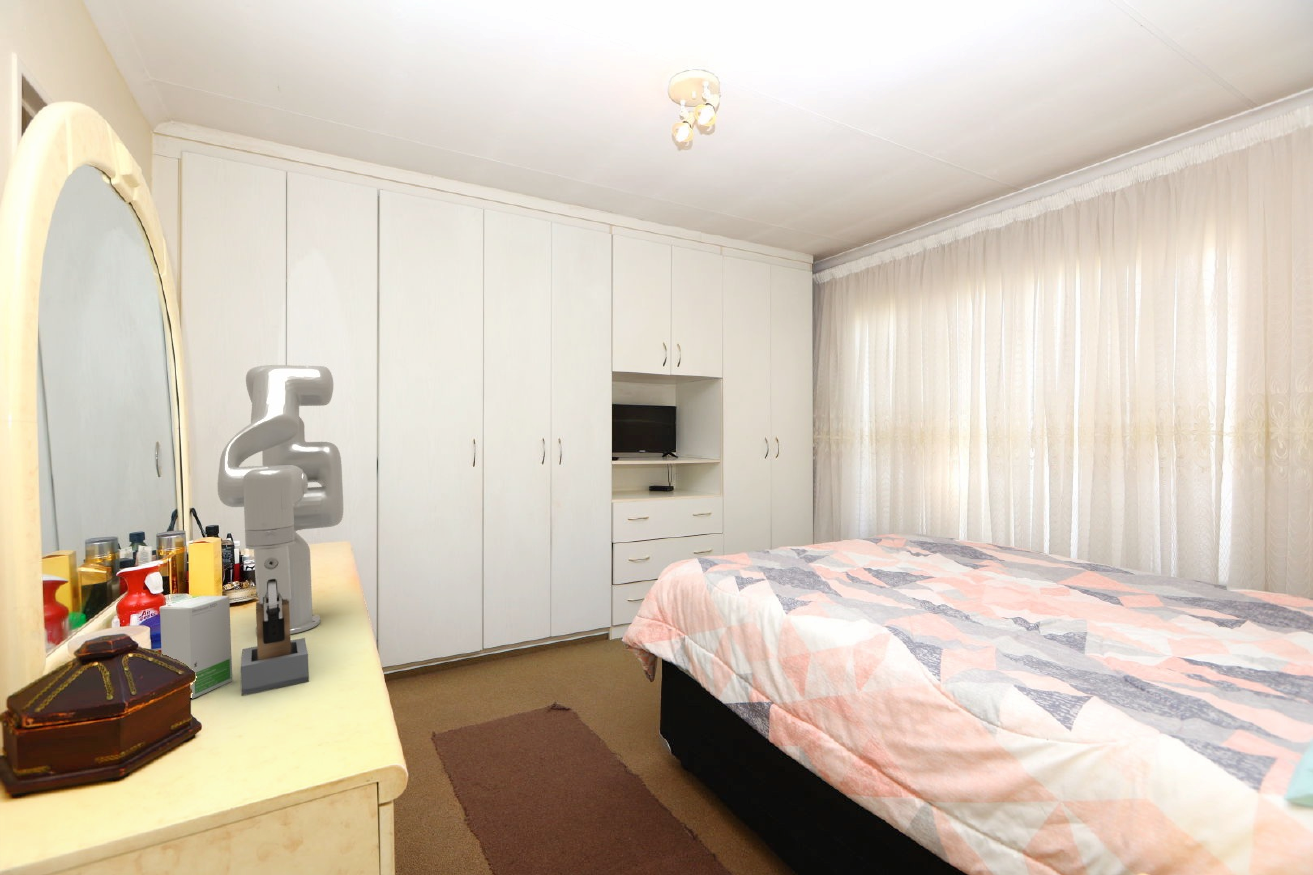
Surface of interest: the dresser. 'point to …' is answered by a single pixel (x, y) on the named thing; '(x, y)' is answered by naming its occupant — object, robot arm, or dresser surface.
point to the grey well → (274, 669)
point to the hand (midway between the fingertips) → (273, 636)
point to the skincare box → (199, 639)
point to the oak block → (277, 647)
